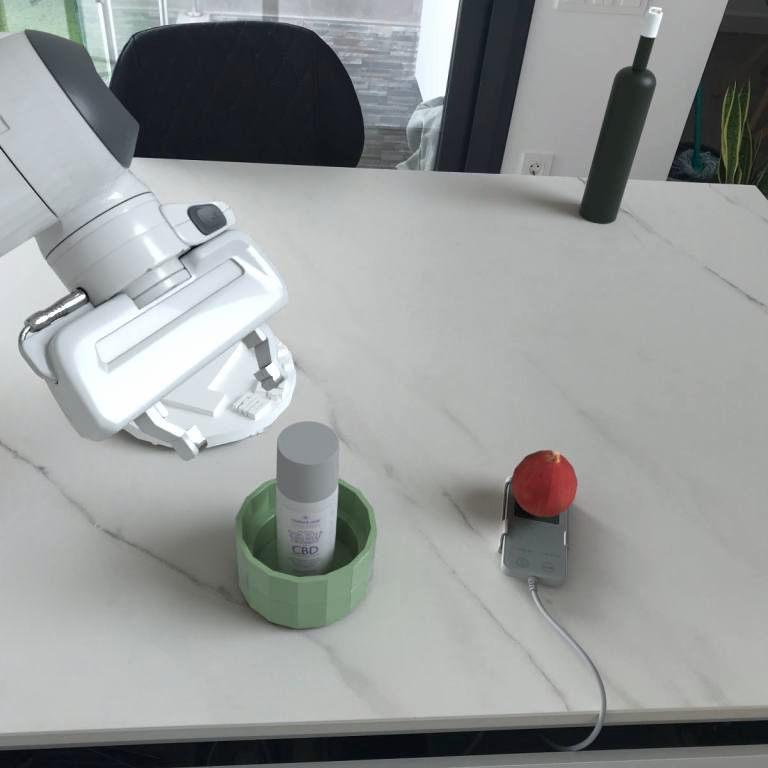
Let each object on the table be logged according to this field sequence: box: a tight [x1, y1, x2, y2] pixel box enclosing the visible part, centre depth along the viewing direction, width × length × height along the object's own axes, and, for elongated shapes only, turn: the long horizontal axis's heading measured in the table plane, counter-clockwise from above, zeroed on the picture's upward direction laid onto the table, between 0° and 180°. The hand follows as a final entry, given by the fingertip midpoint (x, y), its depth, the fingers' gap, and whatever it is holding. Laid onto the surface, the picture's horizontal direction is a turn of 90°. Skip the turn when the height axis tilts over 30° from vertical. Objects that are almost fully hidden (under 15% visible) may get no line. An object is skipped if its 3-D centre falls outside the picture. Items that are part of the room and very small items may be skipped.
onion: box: [511, 449, 579, 518], centre depth 70 cm, size 6×6×8 cm
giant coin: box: [122, 334, 297, 449], centre depth 81 cm, size 20×20×3 cm
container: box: [275, 420, 340, 577], centre depth 60 cm, size 5×5×15 cm
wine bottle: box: [578, 5, 664, 224], centre depth 111 cm, size 6×6×30 cm
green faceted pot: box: [235, 477, 378, 630], centre depth 63 cm, size 11×11×6 cm
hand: (239, 417), depth 58 cm, fingers open, 8 cm apart
